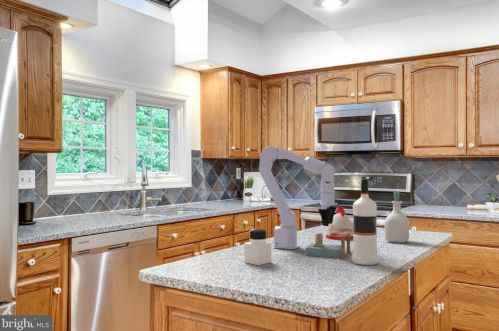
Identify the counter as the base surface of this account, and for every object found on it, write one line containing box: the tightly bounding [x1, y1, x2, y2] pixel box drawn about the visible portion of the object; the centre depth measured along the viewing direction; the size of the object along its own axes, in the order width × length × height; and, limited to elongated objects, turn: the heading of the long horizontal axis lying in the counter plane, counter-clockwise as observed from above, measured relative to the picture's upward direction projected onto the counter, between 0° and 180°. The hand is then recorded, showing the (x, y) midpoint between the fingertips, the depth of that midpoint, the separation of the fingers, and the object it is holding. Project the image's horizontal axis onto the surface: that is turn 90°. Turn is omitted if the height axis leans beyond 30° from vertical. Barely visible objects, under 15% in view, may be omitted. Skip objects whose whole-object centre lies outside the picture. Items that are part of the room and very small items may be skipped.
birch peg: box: [314, 232, 324, 247], centre depth 170 cm, size 3×3×8 cm
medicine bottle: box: [243, 228, 272, 266], centre depth 156 cm, size 7×7×12 cm
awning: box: [330, 228, 352, 260], centre depth 167 cm, size 6×14×10 cm, turn 158°
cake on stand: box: [325, 206, 354, 241], centre depth 208 cm, size 14×14×15 cm
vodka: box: [351, 178, 380, 266], centre depth 154 cm, size 9×9×30 cm
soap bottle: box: [384, 191, 410, 244], centre depth 196 cm, size 10×10×23 cm
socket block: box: [305, 242, 341, 259], centre depth 169 cm, size 13×10×3 cm
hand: (327, 224), depth 181 cm, fingers open, 7 cm apart
